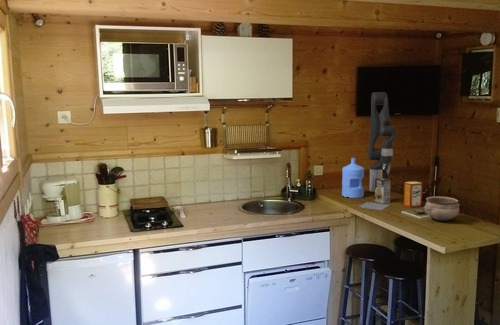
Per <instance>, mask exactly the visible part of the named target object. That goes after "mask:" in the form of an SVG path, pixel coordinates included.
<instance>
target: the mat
mask: <svg viewBox="0 0 500 325" xmlns="http://www.w3.org/2000/svg"><path fill="white" fill-rule="evenodd" d="M390 206H391V204H387V203H379V202H370V201H366V202H364V203H363V204H360V205H359V206H358V208H359V207H361V209H367V210H373V211H383V210H385V209H387V208H389V207H390Z"/></svg>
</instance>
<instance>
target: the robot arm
mask: <svg viewBox="0 0 500 325" xmlns="http://www.w3.org/2000/svg"><path fill="white" fill-rule="evenodd" d="M370 99H371V100H370V105H371V106H370V108H371V109H370V110H371V111H370V125H369V129H370V130H369V143H368V150H367V152H368V153H367V158H368V160H369V161H376V162H374V163H372V164H370V165H369V192H371V193H375V178H385V179H389V174H390V172H391V168H392V165H391V163H392V162H393V157H394V156H393V154H394V152H393V144H394V143H393V142H394V138H395V136H396V131H397V130H396V127H395V126H394V125H391V123H392V122H391V121H392V120H391V117H390V110H389V108H390V107H389V96H388V94H387V93H386V92H383V91H377V92H374V91H373V92H372V93H371V96H370ZM377 106H383V107H382V110H381V111H380V112H378V110H377ZM380 137H388V138H385V139H383V140H382V141H381V147H375V145H376V143H377V141H378V139H379V138H380ZM383 174H384V176H383Z"/></svg>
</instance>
